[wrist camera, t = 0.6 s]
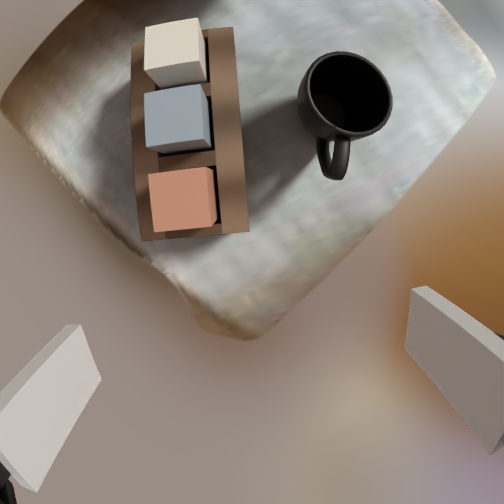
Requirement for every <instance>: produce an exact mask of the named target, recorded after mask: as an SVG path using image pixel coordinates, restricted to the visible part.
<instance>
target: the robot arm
mask: <svg viewBox="0 0 504 504" xmlns="http://www.w3.org/2000/svg"><path fill="white" fill-rule="evenodd" d="M405 350H406V351H407V352H408V353H409V354H410V355H411V357H412V358H413V359H414V360H415V361H416V363H417V364H418V365H419V366H420V367H421V368H422V370H423V371H424V372H425V373H426V374H427V376H428V377H429V378H430V379H431V380H432V382H433V383H434V384H435V385H436V387H438V389H439V390H440V391H441V393H442V394H443V395H444V396H445V397H446V399H447V400H448V401H449V402H450V404H451V405H452V406H453V407H454V409H455V410H456V411H457V412H458V414H459V415H460V416H461V418H462V419H463V420H464V421H465V423H466V424H467V425H468V427H469V428H470V429H471V430H472V432H473V433H474V435H475V436H476V437H477V439H478V440H479V441H480V443H481V444H482V445H483V446H484V448H485V449H486V450H487V452H488V453H489V455H491V454H492V453H494V452H495V451H497V450H498V449H500V448H501V447H503V446H504V336H502V335H499V334H497V333H494V332H492V331H490V330H489V329H488V328H486V327H485V326H484V325H482V324H481V323H480V322H478V321H477V320H475V319H474V318H473V317H471V316H469V315H468V314H467V313H466V312H464V311H463V310H461V309H460V308H459V307H457V306H456V305H454V304H453V303H451V302H450V301H448V300H447V299H445V298H444V297H442V296H441V295H440V294H438V293H437V292H435V291H433V290H432V289H431V288H429V287H428V286H423V287H418V288H413V289H411V297H410V308H409V317H408V326H407V335H406V341H405ZM100 381H101V377H100V374H99V372H98V370H97V367H96V365H95V362H94V359H93V357H92V354H91V352H90V349H89V346H88V344H87V341H86V338H85V335H84V332H83V330H82V327H81V325H66V326H65V327H64V328H63V329H62V330H61V331H60V332H59V333H58V334H57V335H56V336H55V337H53V338H52V339H51V341H49V342H48V343H47V344H46V345H45V346H44V347H43V348H42V349H41V350H40V351H39V352H38V353H37V354H36V355H35V356H34V357H33V358H32V359H31V360H30V361H29V362H28V363H27V364H26V366H24V368H22V369H21V370H20V371H19V373H18V374H17V375H16V376H15V377H14V378H13V379H12V380H11V381H10V382H9V383H8V384H7V385H6V386H5V387H4V388H3V389H2V391H1V392H0V504H17V502H16V498H15V493H14V488H13V485H12V483H11V482H10V481H9V480H8V478H9V476H10V475H12V476H13V477H14V478H15V479H16V480H17V481H18V483H20V485H22V486H23V487H26V488H28V489H30V490H32V491H35V492H37V491H38V490H39V488H40V486H41V484H42V482H43V480H44V478H45V476H46V474H47V472H48V470H49V469H50V467H51V465H52V463H53V461H54V459H55V458H56V456H57V454H58V452H59V450H60V449H61V447H62V445H63V443H64V441H65V440H66V438H67V436H68V434H69V432H70V431H71V429H72V428H73V426H74V424H75V422H76V421H77V419H78V417H79V416H80V414H81V412H82V411H83V409H84V407H85V406H86V404H87V402H88V401H89V398H90V397H91V396H92V394H93V392H94V391H95V389H96V388H97V386H98V384H99V383H100Z"/></svg>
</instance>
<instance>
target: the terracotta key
mask: <svg viewBox="0 0 504 504" xmlns="http://www.w3.org/2000/svg"><path fill="white" fill-rule="evenodd" d="M148 180H149V191H150V201H151V210H152V219H153V227H154V232H162V231H172V230H182V229H192V228H203V227H211V226H212V225H213V224H214V223H215V221H216V220H217V219H218V217H219V213H218V202H217V191H216V179H215V171H213V170H211V169H209V168H207V167H199V168H191V169H183V170H175V171H167V172H160V173H154V174H148Z"/></svg>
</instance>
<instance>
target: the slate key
mask: <svg viewBox="0 0 504 504" xmlns="http://www.w3.org/2000/svg"><path fill="white" fill-rule="evenodd" d="M144 111H145V136H146V147H147V148H150V149H153V150H155V151H158V152H161V153H163V154H166V155H175V154H182V153H190V152H198V151H207V150H213V142H212V128H211V113H210V105H209V103H208V101H207V98H206V96H205V94H204V91H203V89H202V87H201V85H200V84H196V85H189V86H182V87H176V88H170V89H165V90H159V91H154V92H149V93H144Z"/></svg>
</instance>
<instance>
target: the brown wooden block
mask: <svg viewBox="0 0 504 504" xmlns="http://www.w3.org/2000/svg"><path fill="white" fill-rule="evenodd" d="M201 31H202V35H203V38H204V42H205V46H206V49H207V64H208V82H209V83H203V84H200V85H201V87H202V89H203V91H204V94H205V96H206V98H207V101H208V103H209V105H210V113H211V128H212V142H213V150H207V151H198V152H190V153H182V154H175V155H166V154H163V153H161V152H158V151H155V150H153V149H150V148H147V147H146V136H145V111H144V93H149V92H154V91H159V90H161V89H160V87H159V86H158V85H157V84H156V83H155V82H154V81H153V80H152V78H151V77H150V76H149V75H148V74H147V73H146V72H145V71H144V48H145V40H144V41H140V42H136V43H132V53H131V131H132V151H133V166H134V179H135V190H136V200H137V209H138V218H139V226H140V233H141V241H142V242H143V241H153V240H163V239H173V238H184V237H194V236H205V235H216V234H228V233H239V232H250V230H249V217H248V205H247V193H246V181H245V168H244V156H243V144H242V131H241V119H240V107H239V95H238V82H237V70H236V57H235V45H234V33H233V27H225V28H215V29H206V30H201ZM195 85H196V84H195ZM188 86H189V85H188ZM181 87H182V86H181ZM175 88H176V87H175ZM169 89H170V88H169ZM164 90H165V89H164ZM199 167H207V168H209V169H211V170H213V171H215V179H216V191H217V202H218V213H219V217H218V219H217V220H216V221H215V223H214V224H213V225H212V226H211V227H203V228H192V229H182V230H172V231H162V232H154V227H153V219H152V210H151V201H150V191H149V180H148V174H154V173H160V172H167V171H175V170H183V169H191V168H199Z"/></svg>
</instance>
